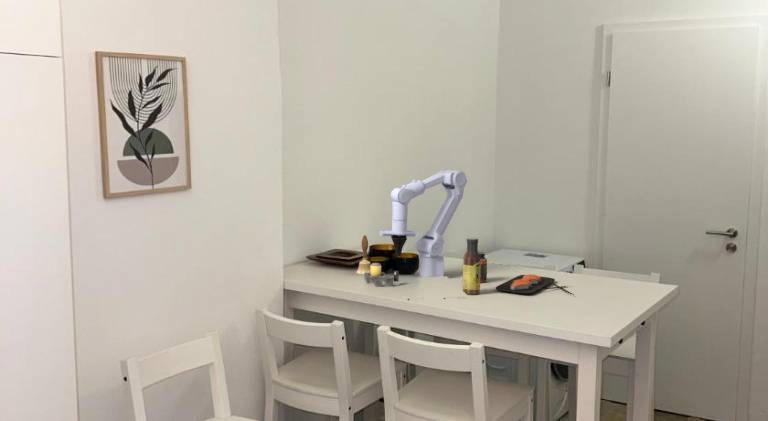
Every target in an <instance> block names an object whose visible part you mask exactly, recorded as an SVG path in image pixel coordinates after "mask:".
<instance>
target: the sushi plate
mask: <svg viewBox="0 0 768 421" xmlns="http://www.w3.org/2000/svg"><path fill="white" fill-rule="evenodd" d="M555 281H556V279H555V278H553V277H549V276H547V277H546V276H539V275H536V274H531V273H530V274H520V275H517V276H514V277H513V278H511V279H509V280H506V281H505V282H503V283H501V284H498V285H496V287H495V289H496V290H498V291H500V292H501V291H502V292H506V293H511V294H520V295H531V294H535V293H537V292H538V291H542V290H551V289H561V290H562V291H563V292H565V293H567V292H568V293H570V294H573V295H575V294H574V293H572V292H570V291H568V290H567V289H565V288H562V287H566V286H567V285H563V286H559V285H558V284H555V283H554V282H555ZM549 285H553V287H547V286H549ZM554 286H555V287H554ZM566 288H567V287H566ZM568 293H567V294H568ZM570 294H569V295H570Z"/></svg>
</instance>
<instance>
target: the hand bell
mask: <svg viewBox="0 0 768 421" xmlns="http://www.w3.org/2000/svg"><path fill="white" fill-rule="evenodd" d="M361 248H362V260H361V261H359V263H358V269H357V270H356V272H355V273H356V274H359V275H365V273H371V265H372V263H371V261H369V260H368V250H369V240H368V238H367V235H363V236H362V240H361Z"/></svg>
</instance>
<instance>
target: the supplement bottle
mask: <svg viewBox="0 0 768 421" xmlns="http://www.w3.org/2000/svg"><path fill="white" fill-rule="evenodd" d="M478 253H479V257H480V260H481V273H480V284H484V283H487V279H488V278H487V277H488V259H487V258H486V257H485V252H483V251H478Z"/></svg>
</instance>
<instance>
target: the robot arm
mask: <svg viewBox="0 0 768 421" xmlns="http://www.w3.org/2000/svg"><path fill="white" fill-rule="evenodd" d="M467 183H468V180H467V176H466V173H465V172H464V171H463V170H453V169H448V168H444V169H442V170H439V171H438V172H437V173H435V174H433V175H431V176H428V177H427V178H426V179H424V180H422V181H421V180H419V179H412V180H411V182H410V183H408V184H403V185H402V186H401V187H395V188H393V189H392V190H391V192H390V194H389V198H390V201H391V205H392V212H391V213H392V214H391V230H379V236H380V237H381V238H382V237H390V238H391V240H392V243H393V246H394V250H395V251H394V252H395V255H396V257H401V255H402V250H403V248H404V245H405V244H406V242H407V240H408V237H412V238H413V237H415V238H418V237H419V231H417V230H416V231H415V230H408V210H409V208H408V207H409V204H410V202H411V200H412V199H414V198H418V197H419V196H421V195H424V194H425V192H426V190H427V189H429V188H432V187H435V186H437V185H440V184H441V185H442V186H443V188H444V190H445V191H446V193H447V195H446V198H445V200H444V201H443V204H442V205H441V207H440V209H439V211H438V213H437V215H436V217H435V219H434V220H433V222H432V225H431V226H430V228H429V229H428V230H427V231H425V232H423V234H422V235H421V237H420V238H418V239H417V241H416V243H415V248H416V250H417V252H418V255H419V266H418V268H419V269H418V271H419V274H418V275H419V276H420V277H424V278H436V277H444V276H445V258H444V256H443V255H440V254H441V253H442V251H443V245H444V243H445V240H444V238H443V235H444V234H445V231H446V229H447V228H448V226H449V224H450V222H451V220H452V218H453V216H454V214H455V212H456V211H457V208H458V207H459V206H460V203H461V201H462V199H463V196H464V190H465V187H466V185H467Z"/></svg>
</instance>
